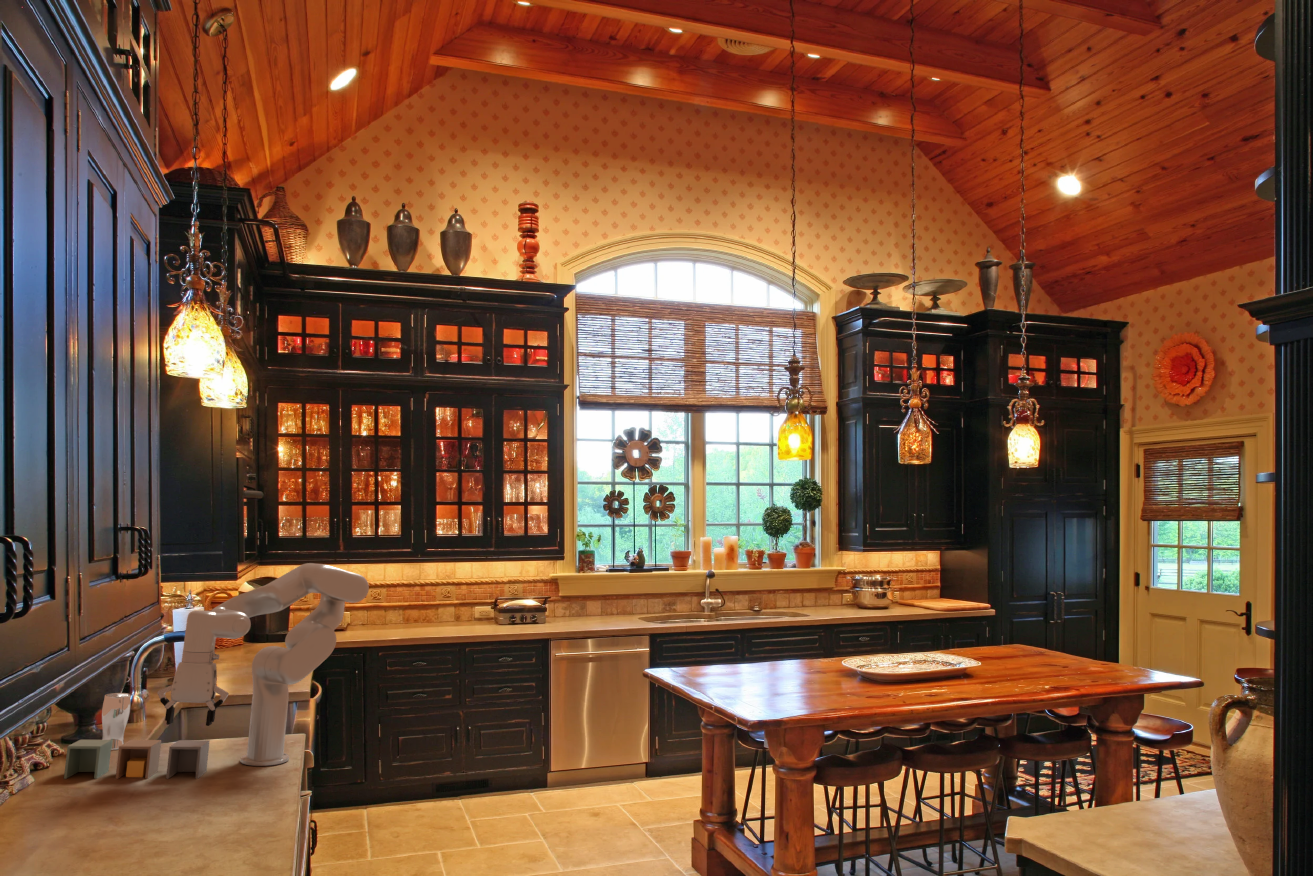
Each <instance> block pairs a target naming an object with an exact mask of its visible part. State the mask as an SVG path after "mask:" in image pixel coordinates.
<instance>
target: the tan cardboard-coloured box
mask: <svg viewBox="0 0 1313 876" xmlns="http://www.w3.org/2000/svg"><path fill="white" fill-rule="evenodd" d="M161 744H162V740H161V739H129V740H128V741H126V742H124V744H122V745H121V746H119V749H118V750H117V751H118V752H117V760H116V769H115V770H116V773H115V780H118V779H120V778H121V777H123V776H124V775H126V771H127V761H129V760H130V759H132V758H147V766H146V775H145V776H144V777H145V779H146V780H149V779H150V778H151V777H152V776H153V775H155V774H157V773H158V772H159V766H160V757H161V756H160V755H161V748H162V745H161ZM157 771H158V772H157Z"/></svg>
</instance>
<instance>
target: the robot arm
mask: <svg viewBox="0 0 1313 876" xmlns="http://www.w3.org/2000/svg"><path fill="white" fill-rule="evenodd" d="M369 587H370V585H369V582H368V580H367V579H366V578H365V576H363V575H362V574H359V573H356V572H353V571H349V570H347V569H346V570H345V569H342V568H339V567H335V566H332V565H329V564H325V563H324V564H323V563H314V562H309V563H308V562H307V563H303V564H300V565H298V566H297V567H295V568H293V569H291V570H290V571H288V572H286V573H284V574H283V575H281V576H280V577H278V578H276V579H274V580H272V581H270V582H269V583H267V584H265V585H262V586H259V587H256V588H254V589H252V590H249V591H246V592H243V593H241V594H238V595H236V596H234V597H232V598H229V599H228V600H226V601H224V602H222V603H221V604H219V605H217V606H216V607H214V608H212V609H211V610H192V611H190V612H189V613H188V615H187V617H186V618H187V619H186V625H185V631H184V633H185V634H184V640H183V648H182V655H181V661H180V662H178V665H177V667H176V671H175V673H174V677H173V681H172V684H171V685H169V686H166V687H164V688H161V689H160V690H157V692H156V693H157V696H158V698H159V701H160V703H161V705H163V706H164V708H165V715H164V716H165V717H164V721H165V722H166V723H165V724H166V726H168V725H171V724H173V723H174V717H175V711H176V710H175V709H176V708H175V707H174V706H175V705H176V704H177V703H201V704H202V703H203V704H204V703H205V704H206V705H207V707H208V710H207V713H206V720H205V721H206V722H205V726H207V727H210V726H211V725H212V724H213V723H214V722H215V719H216V718H215V717H216V710H217V709H218V708H219V707H220V706H221V705H222V704H224V702H225V701H226V699H227V698H228V696H229V695H230V693H229V692H228V691H226V690H225V689H223V688H221V687H219V686H218V685H217V679H218V678H217V677H218V674H217V670H218V669H217V662H215V660H219V659H220V654H219V653H218V654H217V653H216V651H215V648H216V641H217V638H221V639H222V638H223V639H231V640H235V639H240V638H242V637H244V636H246V634H248V633H249V631H250V630H251V627H252V626H251V625H252V624H251V619H250V618H252V617H256V616H260V615H267V614H268V615H269V614H273V613H277V612H281V611H283V610H285V609H286V608H288V607H289V606H291V605H293V604H295V603H297V602H298V601H299V600H301V599H303V598H305V597H306V596H308V595H309V594H313V593H314V594H320V599H319V602H318V605H317V606H316V608H315V609H313V611H311V612H310V614H308V615H307V616H306V617H304V618H303V619H302V620H301V621H299V622H298V623H297V624H296V625H294V626H293V627H292V628H291V629H290V630H289V631H288V633H287V634H286V636H285V639H284V644H285V647H283V646H279V645H271V646H269V645H268V646H266V647H263V648H262V649H260V650H258V651H257V653H256V654H255V655H254V657H253V659H252V661H251V662H252V663H251V675H252V699H251V708H250V720H249V729H248V741H247V751H246V754H243V755H242V756H241V757H240V763H241V764H243V765H245V766H246V765H247V766H253V767H254V766H255V767H256V766H257V767H265V766H266V767H267V766H276V765H280V764H284V763H286V762H288V761H289V759H290V755H289V754H288V753H285V742H286V730H287V719H288V707H289V706H288V705H289V700H290V698H289V697H290V696H289V695H290V693H289V692H290V691H289V685H294V684H297V683H299V682H301V681H302V680H304V679H305V678H307V676H309V675H310V674H311V673H312V672H313V671H314V670H316V669H317V668H318V667H319V666H321V664H322V663H323V662H325V660H327V659H328V658H329V657H330V655H332V653H333V651H334V650H335V647H336V645H337V634H336V632H335V630H336V629H337V628H338V627H339V626H340V625H341V623H342V621H343V618H344V614H345V606H346V603H351V604H353V603H360V602H361V601H363V600H365V598H366V597H367V596H368V594H369V590H370V588H369ZM170 691H171V692H170ZM168 692H170V700H169V699H168V697H167V696H166V693H168ZM216 694H218V695H219V696H220V697H219V699H218V700H217V701H215V697H216Z"/></svg>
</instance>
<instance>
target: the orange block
mask: <svg viewBox="0 0 1313 876" xmlns="http://www.w3.org/2000/svg"><path fill="white" fill-rule="evenodd" d="M146 766H147V758H132V759H130V760H129V761H127V771H126V774H125V777H126V778H143V777H145V775H146Z"/></svg>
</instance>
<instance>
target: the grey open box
mask: <svg viewBox="0 0 1313 876" xmlns="http://www.w3.org/2000/svg"><path fill="white" fill-rule="evenodd" d="M168 749H169V750H168V759H167V769H166V776H165V779H167V780H168V779H170V778H172V777H173V776H174V775H176V774H177V773H182V772H183V773H195V780H196V778H197V780H198V779H199V778H201V777H202V776H203V775H204V774H205V773H207V769H208V760H209V749H210V739H209V740H207V739H205V740H204V739H203V740H200V739H198V740H197V739H196V740H194V739H193V740H191V739H185V740H184V739H183V740H182V739H180V740H179V739H178V740H177V741H176V742H174V743H172V744H171V745H170V746H169V747H168Z"/></svg>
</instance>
